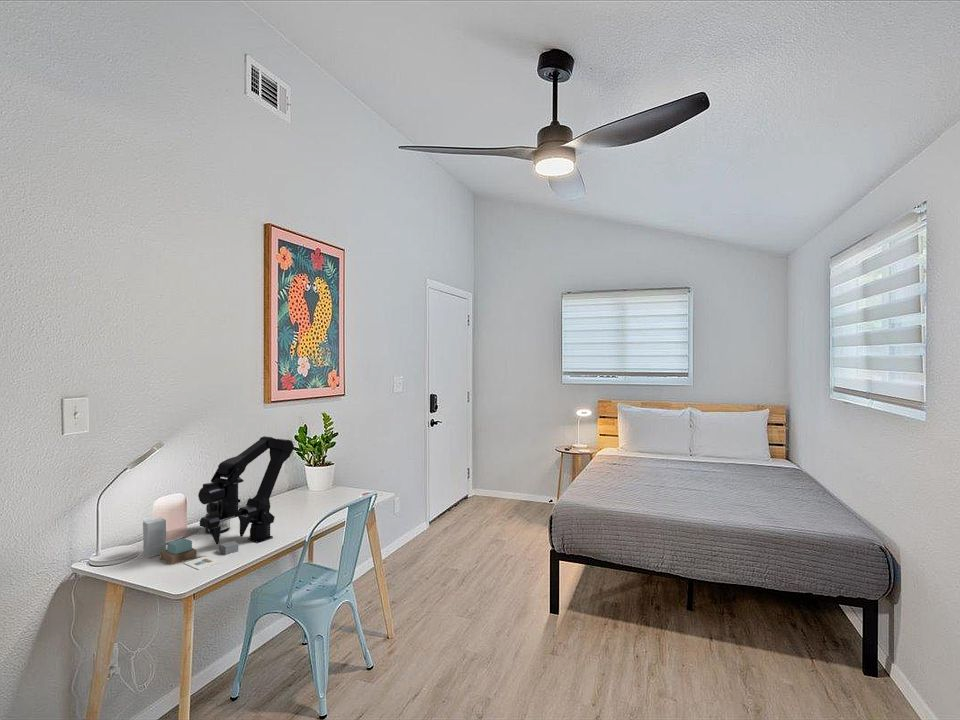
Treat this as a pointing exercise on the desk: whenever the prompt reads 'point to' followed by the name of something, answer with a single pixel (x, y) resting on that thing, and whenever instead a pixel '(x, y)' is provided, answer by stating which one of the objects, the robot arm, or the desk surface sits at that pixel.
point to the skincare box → (154, 537)
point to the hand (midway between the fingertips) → (229, 540)
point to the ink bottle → (223, 524)
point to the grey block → (229, 547)
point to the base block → (177, 556)
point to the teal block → (179, 546)
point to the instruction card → (201, 563)
